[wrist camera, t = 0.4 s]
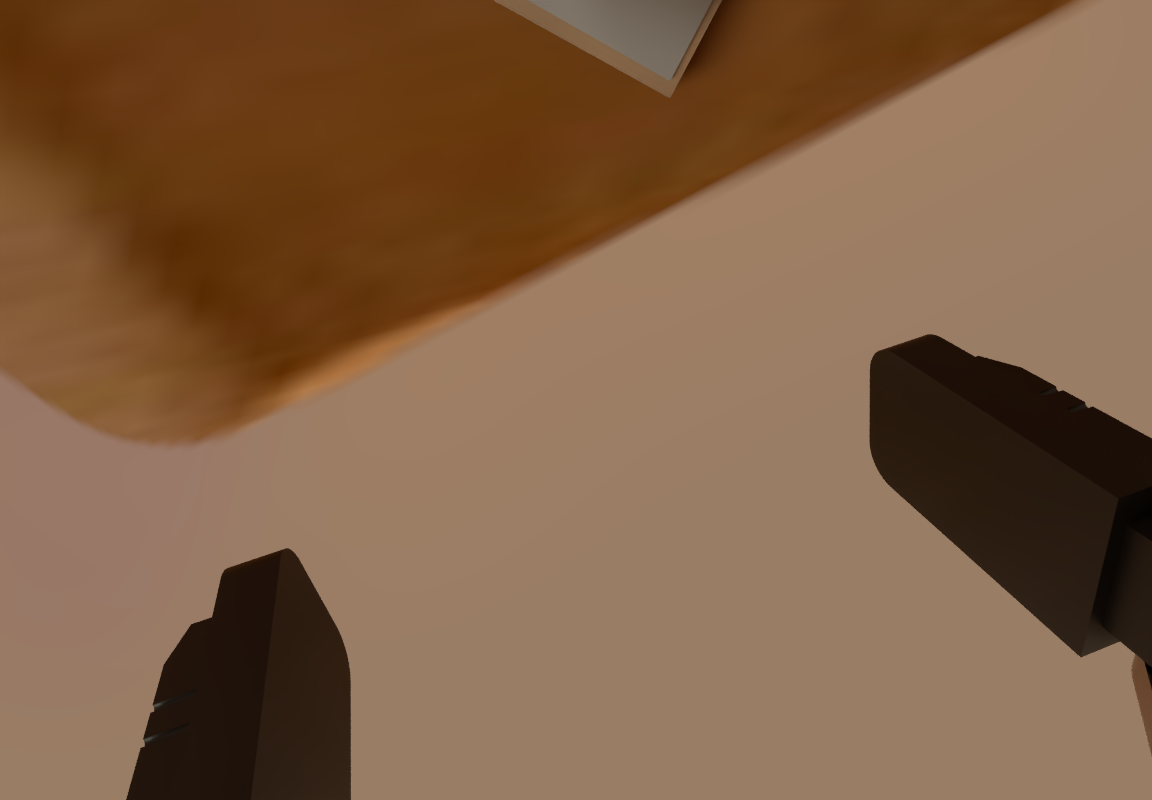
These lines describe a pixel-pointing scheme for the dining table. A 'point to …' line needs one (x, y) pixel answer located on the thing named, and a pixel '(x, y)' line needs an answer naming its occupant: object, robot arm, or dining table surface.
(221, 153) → the dining table surface
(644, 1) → the grey square tray
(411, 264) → the dining table surface
